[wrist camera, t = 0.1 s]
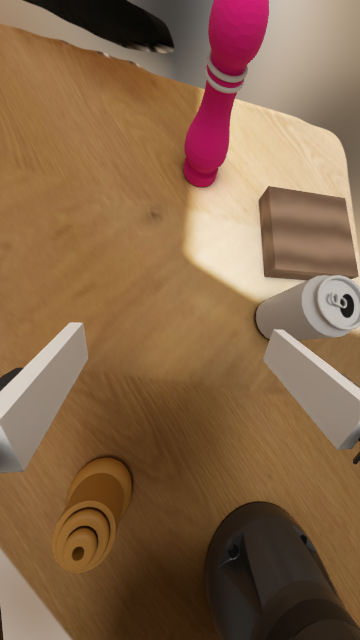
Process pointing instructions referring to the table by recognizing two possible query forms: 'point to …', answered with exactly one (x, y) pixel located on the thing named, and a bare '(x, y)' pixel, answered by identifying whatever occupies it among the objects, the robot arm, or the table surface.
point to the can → (313, 309)
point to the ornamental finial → (91, 515)
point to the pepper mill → (223, 83)
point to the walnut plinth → (305, 235)
